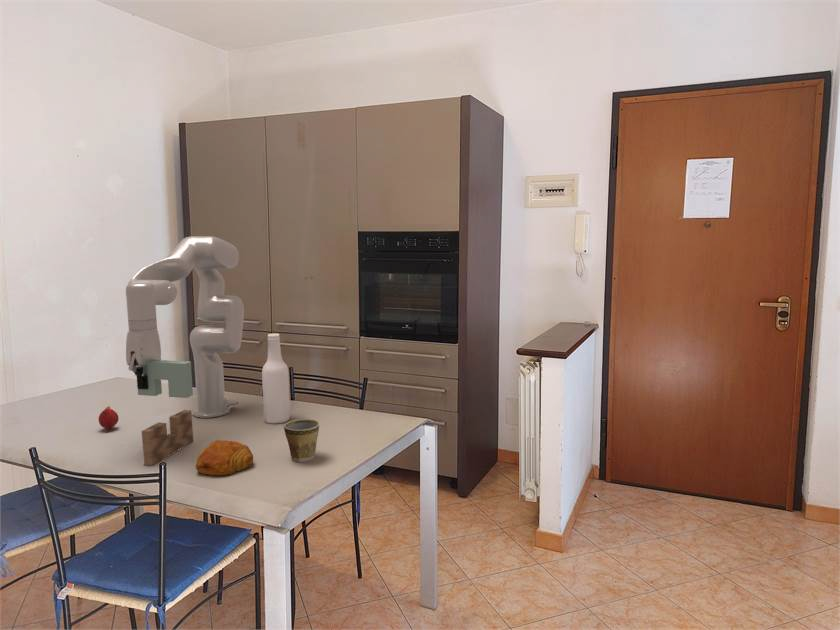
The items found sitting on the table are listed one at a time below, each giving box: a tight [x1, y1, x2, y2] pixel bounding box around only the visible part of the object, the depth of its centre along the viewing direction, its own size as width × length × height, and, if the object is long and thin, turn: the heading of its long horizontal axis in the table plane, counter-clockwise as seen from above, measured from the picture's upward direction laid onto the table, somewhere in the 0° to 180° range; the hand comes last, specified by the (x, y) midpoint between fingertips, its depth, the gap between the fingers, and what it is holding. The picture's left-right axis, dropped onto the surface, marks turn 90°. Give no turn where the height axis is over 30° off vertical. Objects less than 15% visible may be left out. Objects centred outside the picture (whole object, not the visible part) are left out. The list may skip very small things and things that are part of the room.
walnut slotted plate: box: [141, 409, 194, 467], centre depth 182 cm, size 20×2×10 cm, turn 167°
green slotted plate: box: [137, 359, 194, 399], centre depth 179 cm, size 16×3×10 cm, turn 77°
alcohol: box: [261, 333, 291, 425], centre depth 210 cm, size 9×9×30 cm
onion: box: [98, 405, 119, 431], centre depth 203 cm, size 6×6×8 cm
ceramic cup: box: [283, 418, 320, 463], centre depth 179 cm, size 13×10×10 cm
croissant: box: [195, 439, 254, 476], centre depth 172 cm, size 14×16×8 cm
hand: (147, 386), depth 181 cm, fingers closed on green slotted plate, 3 cm apart
